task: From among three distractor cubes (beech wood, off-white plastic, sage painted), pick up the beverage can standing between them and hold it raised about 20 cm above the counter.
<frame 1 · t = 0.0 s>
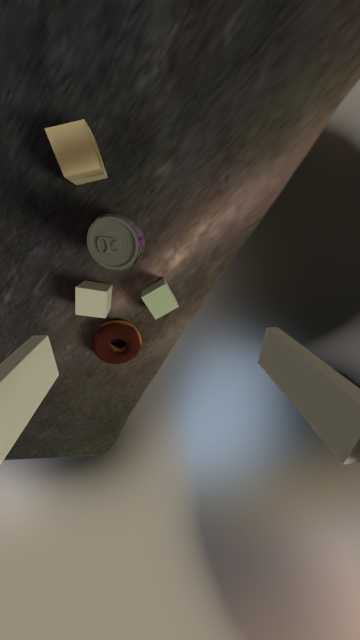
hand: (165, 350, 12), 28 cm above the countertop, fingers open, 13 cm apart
sage cube: (159, 294, 39), on the countertop
beverage can: (125, 241, 34), on the countertop
donut: (119, 337, 42), on the countertop
off-white cube: (98, 294, 38), on the countertop
beech cube: (85, 162, 29), on the countertop
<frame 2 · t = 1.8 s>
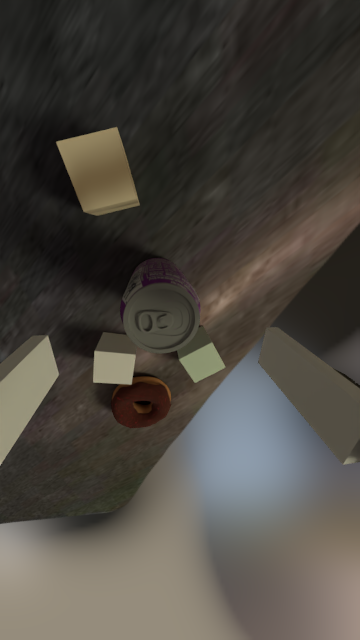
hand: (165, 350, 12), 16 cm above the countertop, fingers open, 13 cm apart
sage cube: (195, 344, 31), on the countertop
beverage can: (157, 283, 26), on the countertop
donut: (142, 393, 34), on the countertop
off-white cube: (119, 347, 29), on the countertop
beech cube: (110, 184, 21), on the countertop
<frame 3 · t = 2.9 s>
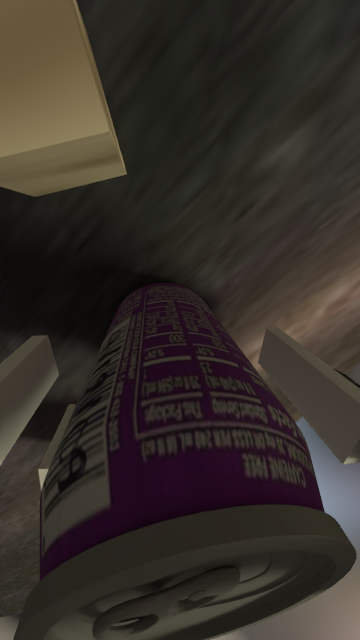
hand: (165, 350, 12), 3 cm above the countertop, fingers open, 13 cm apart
beverage can: (163, 325, 15), on the countertop
off-white cube: (99, 424, 18), on the countertop
beech cube: (58, 124, 9), on the countertop
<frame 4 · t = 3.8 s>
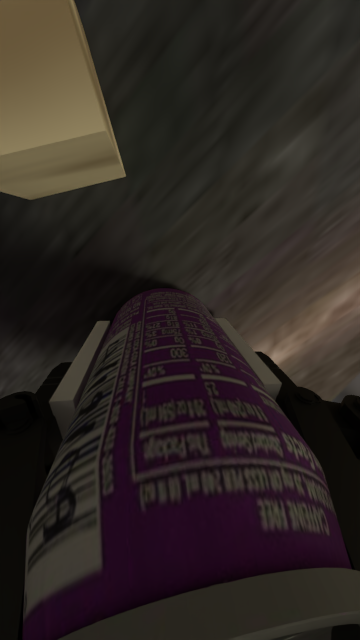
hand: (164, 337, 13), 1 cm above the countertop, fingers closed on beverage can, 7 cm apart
beverage can: (163, 331, 14), on the countertop, touching gripper
beech cube: (54, 124, 9), on the countertop
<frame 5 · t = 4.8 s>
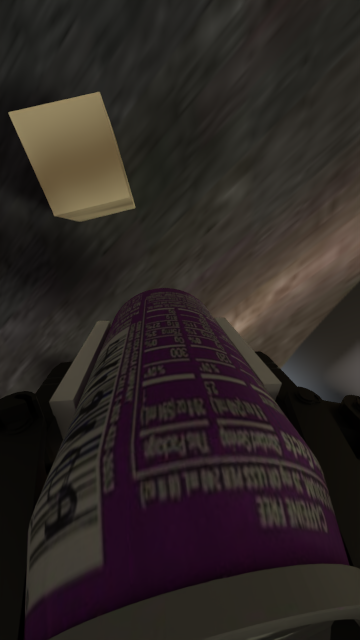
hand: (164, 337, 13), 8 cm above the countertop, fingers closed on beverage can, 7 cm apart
beverage can: (163, 331, 14), point 7 cm above the countertop, touching gripper
beech cube: (96, 181, 16), on the countertop
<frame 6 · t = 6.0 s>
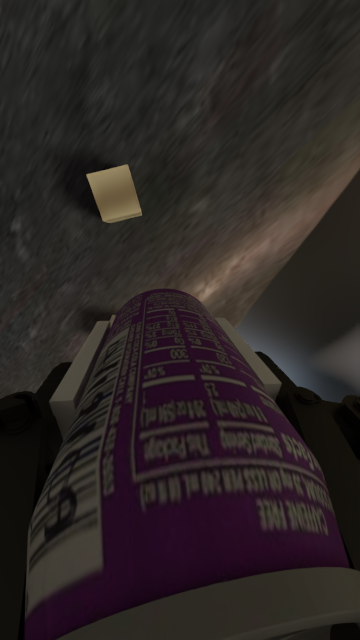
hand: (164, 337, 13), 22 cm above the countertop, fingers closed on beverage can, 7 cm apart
beverage can: (163, 332, 14), point 21 cm above the countertop, touching gripper
beech cube: (120, 200, 28), on the countertop
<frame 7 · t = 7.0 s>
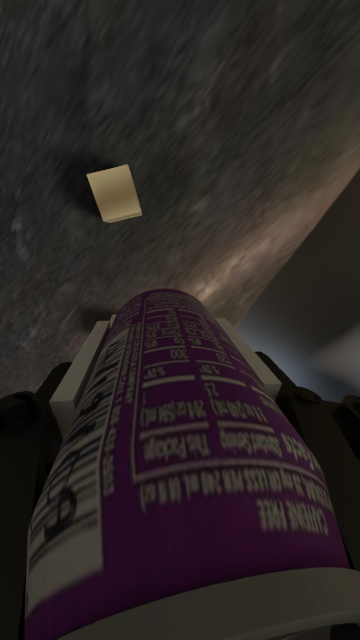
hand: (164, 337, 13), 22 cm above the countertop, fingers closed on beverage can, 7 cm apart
beverage can: (163, 332, 14), point 21 cm above the countertop, touching gripper
beech cube: (120, 200, 28), on the countertop
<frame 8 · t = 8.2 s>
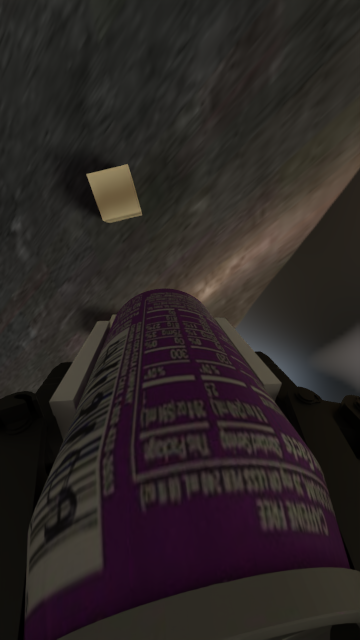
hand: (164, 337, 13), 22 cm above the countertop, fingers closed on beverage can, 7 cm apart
beverage can: (163, 332, 14), point 21 cm above the countertop, touching gripper
beech cube: (120, 200, 28), on the countertop
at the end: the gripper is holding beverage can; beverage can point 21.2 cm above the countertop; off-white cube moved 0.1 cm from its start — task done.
